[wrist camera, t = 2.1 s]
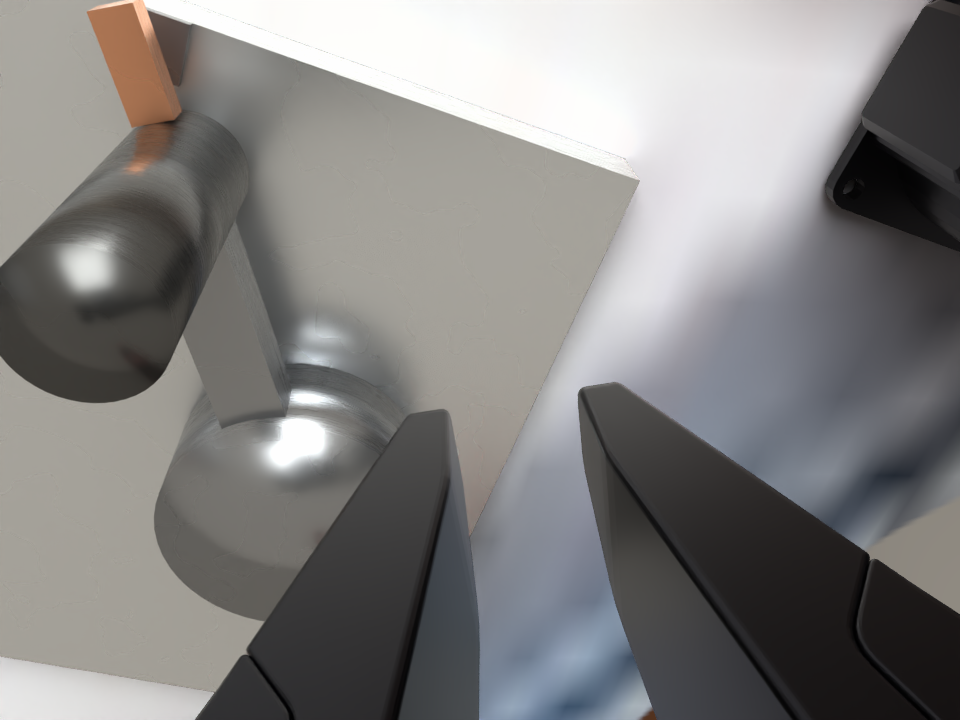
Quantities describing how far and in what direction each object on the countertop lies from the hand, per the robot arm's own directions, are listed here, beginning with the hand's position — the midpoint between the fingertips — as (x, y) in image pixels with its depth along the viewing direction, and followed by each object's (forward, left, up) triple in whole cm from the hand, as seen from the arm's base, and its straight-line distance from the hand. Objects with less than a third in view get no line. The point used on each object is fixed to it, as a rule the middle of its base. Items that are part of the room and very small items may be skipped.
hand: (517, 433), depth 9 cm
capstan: (+3, +6, -10) cm, 12 cm away
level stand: (+5, +9, -12) cm, 16 cm away
